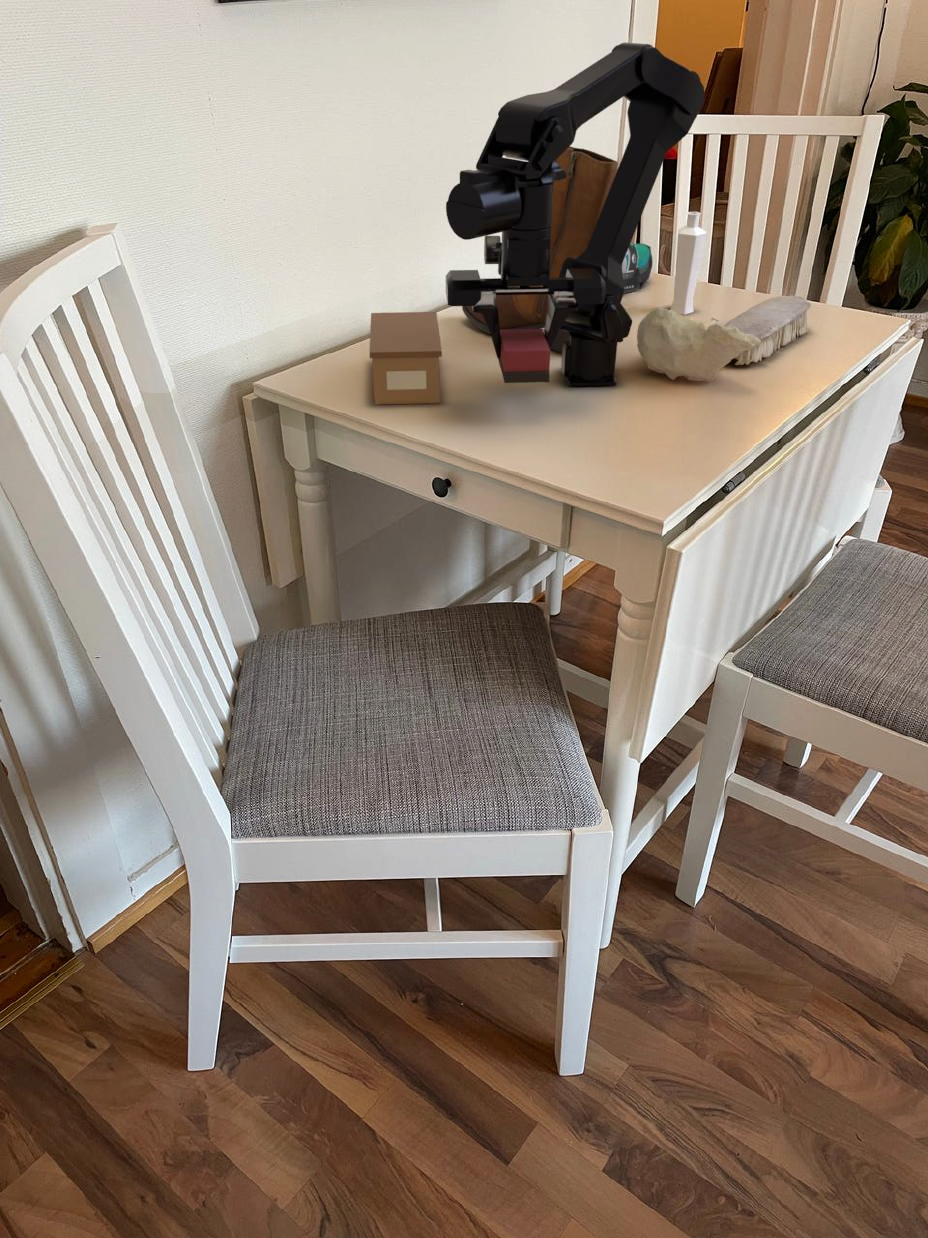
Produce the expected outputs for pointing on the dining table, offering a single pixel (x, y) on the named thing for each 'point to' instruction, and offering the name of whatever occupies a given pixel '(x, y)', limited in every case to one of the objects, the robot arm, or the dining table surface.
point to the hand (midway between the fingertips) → (521, 356)
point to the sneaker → (636, 266)
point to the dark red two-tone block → (524, 356)
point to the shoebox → (405, 357)
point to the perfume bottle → (688, 263)
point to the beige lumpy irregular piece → (689, 345)
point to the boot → (560, 236)
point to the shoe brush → (771, 325)
